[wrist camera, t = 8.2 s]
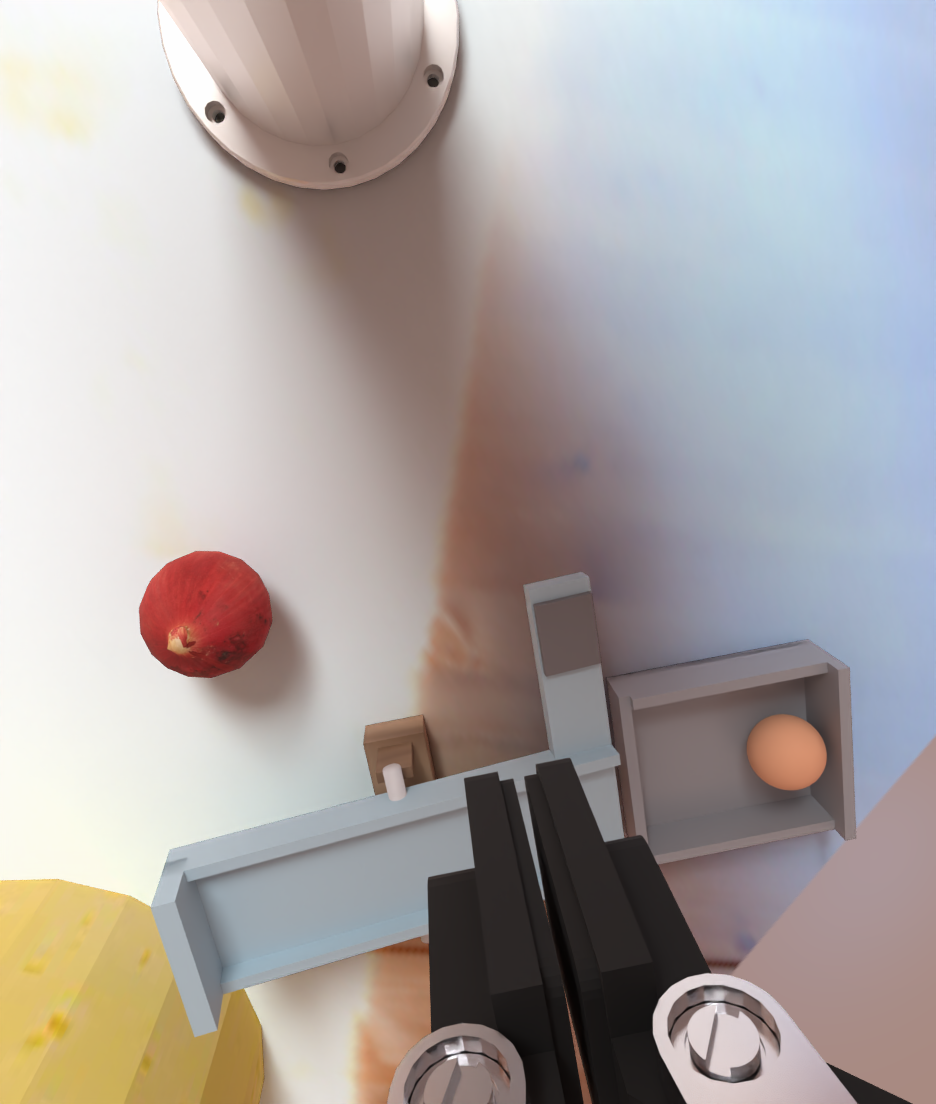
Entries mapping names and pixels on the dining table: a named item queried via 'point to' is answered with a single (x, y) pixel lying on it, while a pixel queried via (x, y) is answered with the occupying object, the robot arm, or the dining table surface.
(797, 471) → the dining table surface
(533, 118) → the dining table surface
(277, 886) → the lever
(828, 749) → the dish
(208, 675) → the onion
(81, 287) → the dining table surface
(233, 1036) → the cheese
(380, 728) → the fulcrum
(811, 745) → the ball
